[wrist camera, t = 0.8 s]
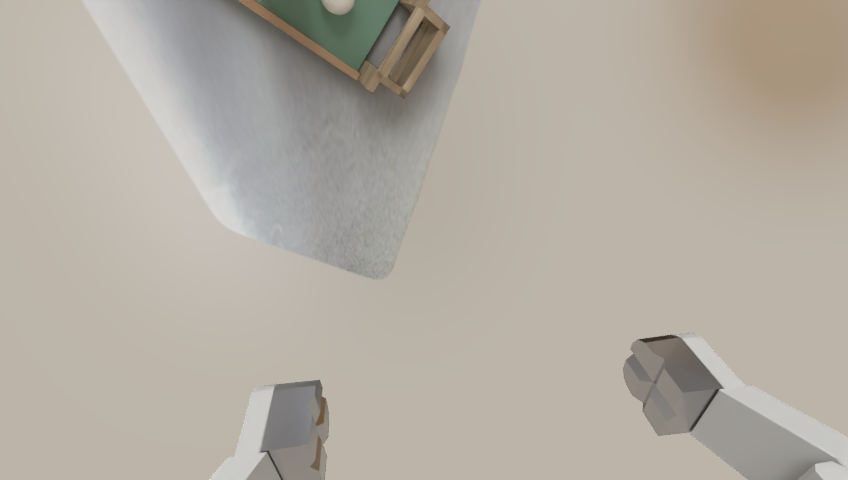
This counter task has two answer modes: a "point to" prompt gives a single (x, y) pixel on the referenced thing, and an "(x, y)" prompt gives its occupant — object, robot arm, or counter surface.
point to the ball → (338, 6)
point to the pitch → (329, 27)
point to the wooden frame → (407, 51)
